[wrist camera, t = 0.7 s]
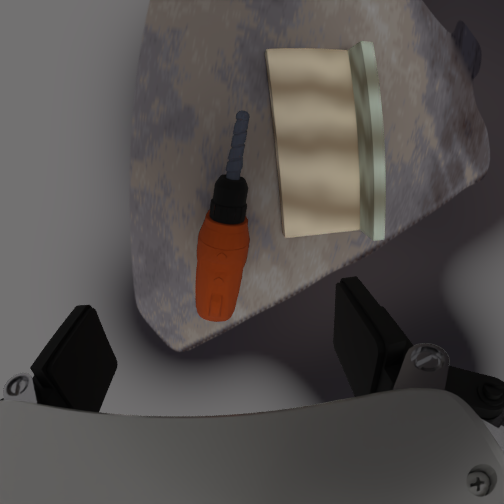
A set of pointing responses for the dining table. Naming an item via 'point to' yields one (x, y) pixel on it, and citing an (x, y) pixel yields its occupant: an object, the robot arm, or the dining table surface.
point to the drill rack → (328, 140)
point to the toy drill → (224, 236)
